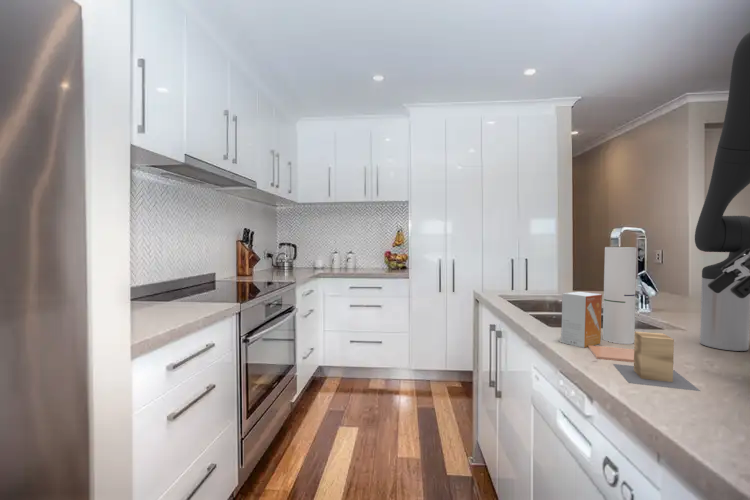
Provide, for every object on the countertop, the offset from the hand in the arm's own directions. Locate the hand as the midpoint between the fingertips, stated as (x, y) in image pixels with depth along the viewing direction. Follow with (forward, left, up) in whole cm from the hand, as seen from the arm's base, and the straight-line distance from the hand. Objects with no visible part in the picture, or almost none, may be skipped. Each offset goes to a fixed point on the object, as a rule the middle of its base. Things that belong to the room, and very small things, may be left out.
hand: (723, 292), depth 72 cm
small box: (-23, -20, -17) cm, 35 cm away
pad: (-14, -14, -17) cm, 26 cm away
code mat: (0, -11, -17) cm, 20 cm away
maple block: (0, -11, -17) cm, 20 cm away
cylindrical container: (-30, -10, -17) cm, 36 cm away
